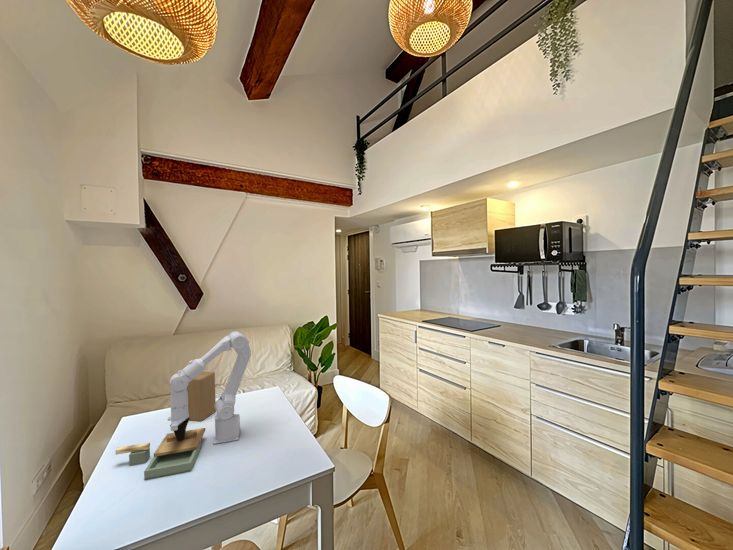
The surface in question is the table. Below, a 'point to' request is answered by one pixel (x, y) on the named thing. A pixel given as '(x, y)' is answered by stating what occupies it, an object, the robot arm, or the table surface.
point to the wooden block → (201, 396)
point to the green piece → (171, 464)
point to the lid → (180, 442)
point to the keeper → (139, 457)
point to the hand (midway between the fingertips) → (180, 439)
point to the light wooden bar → (132, 448)
